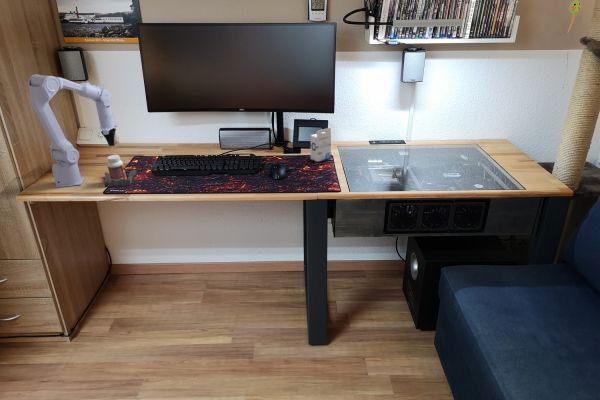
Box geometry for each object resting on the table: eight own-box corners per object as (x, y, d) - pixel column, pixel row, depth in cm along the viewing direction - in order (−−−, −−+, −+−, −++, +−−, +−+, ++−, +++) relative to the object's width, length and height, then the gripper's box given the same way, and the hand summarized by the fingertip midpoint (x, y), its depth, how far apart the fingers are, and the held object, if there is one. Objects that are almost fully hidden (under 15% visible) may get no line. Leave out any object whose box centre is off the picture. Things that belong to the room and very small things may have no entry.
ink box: (324, 155, 210) (324, 125, 203) (331, 157, 206) (331, 127, 200) (310, 159, 205) (310, 128, 199) (316, 161, 202) (316, 130, 195)
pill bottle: (129, 181, 184) (123, 157, 178) (114, 185, 180) (107, 161, 175) (124, 176, 188) (118, 152, 183) (109, 180, 185) (103, 156, 179)
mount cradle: (101, 187, 179) (99, 182, 178) (105, 176, 189) (104, 171, 188) (134, 184, 181) (133, 178, 180) (136, 173, 192) (135, 168, 191)
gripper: (112, 119, 186) (119, 149, 192) (117, 111, 199) (123, 139, 205) (95, 120, 185) (101, 151, 191) (100, 112, 197) (107, 141, 203)
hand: (111, 145), depth 198 cm, fingers closed
